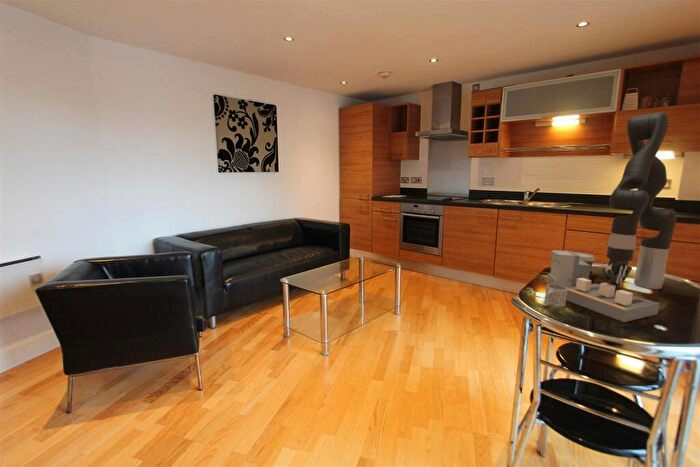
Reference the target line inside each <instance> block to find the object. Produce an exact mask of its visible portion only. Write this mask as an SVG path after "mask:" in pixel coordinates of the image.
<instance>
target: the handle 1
mask: <svg viewBox="0 0 700 467" xmlns="http://www.w3.org/2000/svg"><path fill="white" fill-rule="evenodd" d="M591 284H592V280H591V279H589V280H588V279H585V278H578V279H577V282H576V285H575V287H576V289H578V290H581V291H584V292H586V291H590V288H591Z"/></svg>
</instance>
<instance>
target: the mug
mask: <svg viewBox="0 0 700 467" xmlns="http://www.w3.org/2000/svg"><path fill="white" fill-rule="evenodd" d="M566 296H567V287H565V286H562V285H558V284H546V287H545V294H544V304H545V305H547V306H550V307H553V306H554V307H553V308H564V307H566V303H567V300H566Z"/></svg>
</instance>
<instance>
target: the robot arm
mask: <svg viewBox="0 0 700 467" xmlns="http://www.w3.org/2000/svg"><path fill="white" fill-rule="evenodd" d="M668 128H669V117H668V115H667V113H665V112H663V111H661V112H651V113H647V114H646V113H645V114H639V115H635V116H631V117H630V118H629V119H628V121H627V125H626V130H627V138H628V141H629V145H630V149H631V153H632V157H630V159H629V160H628V162H627V163H626V165H625V167H624V170H623V173H622V174H623V175H622V178H621V180H620V181H619V184H617V186H616V187H615V188H614V190H613V191H612V193H611V195H610V196H609V201H608V202H609V206H610V207H611V209H614V210H619V211H620V210H622V211H632V212H631V214H629V215H623V216H622V215H621V216H620V215H619V216H616V217H614V218H613V219H612V223H611V224H612V225H611V229H610V230H611V231H610V235H609V237H608V243H607V250H606V251H607V252H606V257H607V259H609V261H608V264H607V267H606V268H605V267H604V268H603V269H602V273H603V275H604V277H605V279H606V281H608V282H610V284H611V285H614V286H616V287H615V293H616V291H618V290H620V285H621V283H622V281H625V280H626V279H627V277H628V276H629V274H630V273H631V271H632V269H633V267H632V266H630V265H629V262H631V261H634V254H635V247H636V242H637V238H636V237H637V232H638V231H637V230H638V225H639V224H640V227H641V228H642V229H644V230H647V231H654V232H655V231H656V232H658V234H657V235H656V236H651V237H646V238H645V237H643V238H642V239H641V241H640V246H639V251H638V257H637V264H636V269H635V275H634V279H633V280H634V281H633V285H636V286H638V287H642V288H646V289H651V290H653V289H654V290H659V289H662V288H663V284H664V279H665V274H666V268H667V261H668V256H669V251H670V246H671V242H672V240H673V234H674V230H675V228H676V223H677V213H676V211H675V210H672V209H665V208H654V205H653V203H654V200H655V198H656V197H657V196H658V195H659V194H660V193H661V191H663V189H664V188H665V186H666V185H667V182H668V177H667V170H666V169H667V168H666V165H665V164H664V162H663V161H662V160H660V158H659V157H657V153H658V152H659V149H660V147H661V145H662V143H663V142H664V139H665V137H666V134H667V132H668ZM645 140H646V141H647V143H645V142H644V141H645Z"/></svg>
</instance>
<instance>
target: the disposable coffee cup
mask: <svg viewBox="0 0 700 467" xmlns="http://www.w3.org/2000/svg"><path fill="white" fill-rule="evenodd" d="M575 253H576V254H577V255H579V256H580V258H579V260H581V261H584V262H585V263H587V264H589V265H591V267H590V270H591V271H592V267H593V263H594V262H595V260H596V259H595V256H594V255H593V254H590V253H586V252H575Z"/></svg>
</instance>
